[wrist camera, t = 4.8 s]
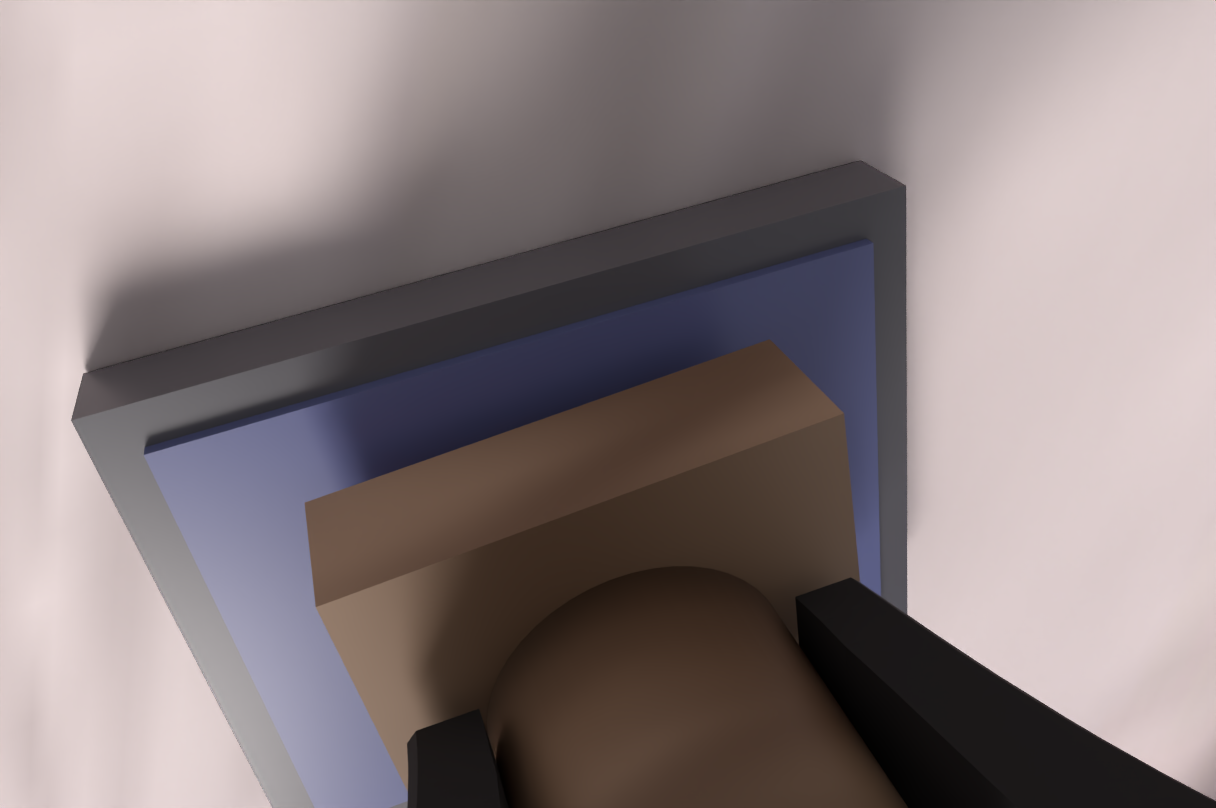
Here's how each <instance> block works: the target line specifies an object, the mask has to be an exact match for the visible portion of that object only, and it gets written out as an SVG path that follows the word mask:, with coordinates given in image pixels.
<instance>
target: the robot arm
mask: <svg viewBox="0 0 1216 808" xmlns="http://www.w3.org/2000/svg"><path fill="white" fill-rule="evenodd" d="M795 601H796V613H797V626H798V638H799V646H800V647H801V649H802V650H803V652H804V653H805V655H806V656H807V658H808V659H809V661H810V662H811V664H812V665H813V667H814V668H815V670H816V671H817V673H818V674H819V676H820V677H821V679H822V680H823V682H824V683H825V684H826V686H827V687H828V689H829V690H830V692H831V693H832V695H833V696H834V698H835V699H836V701H837V702H838V704H839V705H840V707H841V708H842V710H843V711H844V713H845V714H846V716H847V717H848V719H849V720H850V722H851V723H852V725H853V726H854V728H855V729H856V731H857V732H858V733H859V735H860V736H861V738H862V739H863V741H864V742H865V744H866V745H867V747H868V748H869V750H870V751H871V753H872V754H873V756H874V757H875V759H876V760H877V762H878V763H879V765H880V766H881V768H882V769H883V771H884V772H885V774H886V775H887V777H888V778H889V780H890V781H891V783H892V784H893V785H894V787H895V788H896V790H897V791H898V793H899V794H900V796H901V797H902V799H903V800H904V802H905V803H906V805H907V806H908V808H1216V801H1215V800H1213V799H1211V798H1209V797H1207V796H1205V795H1203V794H1201V793H1199V792H1197V791H1196V790H1194V789H1192V788H1190V787H1188V786H1186V785H1184V784H1182V783H1181V782H1179V781H1177V780H1175V779H1173V778H1171V777H1169V776H1167V775H1166V774H1164V773H1162V772H1160V771H1158V770H1156V769H1155V768H1153V767H1151V766H1149V765H1148V764H1146V763H1144V762H1142V761H1140V760H1139V759H1137V758H1135V757H1133V756H1131V755H1130V754H1128V753H1126V752H1124V751H1123V750H1121V749H1119V748H1117V747H1115V746H1114V745H1112V744H1110V743H1108V742H1107V741H1105V740H1103V739H1101V738H1100V737H1098V736H1096V735H1095V734H1093V733H1091V732H1090V731H1088V730H1086V729H1084V728H1083V727H1081V726H1079V725H1078V724H1076V723H1074V722H1073V721H1071V720H1069V719H1067V718H1066V717H1064V716H1063V715H1061V714H1059V713H1058V712H1056V711H1055V710H1053V709H1051V708H1050V707H1048V706H1047V705H1045V704H1043V703H1042V702H1040V701H1038V700H1037V699H1035V698H1034V697H1032V696H1030V695H1029V694H1027V693H1026V692H1024V691H1022V690H1021V689H1019V688H1018V687H1016V686H1014V685H1013V684H1011V683H1009V682H1008V681H1006V680H1005V679H1003V678H1001V677H1000V676H998V675H997V674H995V673H994V672H992V671H991V670H989V669H988V668H986V667H984V666H983V665H981V664H980V663H978V662H977V661H975V660H974V659H972V658H971V657H969V656H968V655H966V654H965V653H963V652H962V651H960V650H959V649H957V648H956V647H954V646H953V645H951V644H950V643H948V642H947V641H945V640H944V639H942V638H941V637H939V636H938V635H936V634H935V633H933V632H932V631H930V630H929V629H927V628H926V627H924V626H923V625H922V624H920V623H919V622H917V621H916V620H914V619H913V618H911V617H910V616H908V615H907V614H905V613H904V612H903V611H901V610H900V609H898V608H897V607H895V606H894V605H892V604H891V603H890V602H888V601H887V600H885V599H884V598H882V597H881V596H879V595H878V594H877V593H875V592H874V591H872V590H871V589H869V588H868V587H866V586H865V585H863V584H862V583H860V582H859V581H857V580H855V579H853V578H851V577H850V578H847V579H844V580H842V581H839V582H836V583H833V584H830V585H828V586H825V587H822V588H819V589H816V590H813V591H811V592H808V593H805V594H802V595H799V596H796V597H795ZM407 754H408V803H407V808H509V805H508V801H507V798H506V794H505V791H504V787H503V783H502V780H501V776H500V773H499V769H498V766H497V762H496V759H495V756H494V753H493V750H492V747H491V744H490V741H489V737H488V734H487V731H486V728H485V725H484V722H483V719H482V716H481V713H480V710H479V709H476V710H473V711H471V712H468V713H465V714H462V715H459V716H456V717H454V718H451V719H448V720H445V721H442V722H439V723H437V724H434V725H431V726H428V727H425V728H422V729H420V730H417V731H415V733H414V734H413V736H412V737H411V738H410V740H409V741H408V743H407Z"/></svg>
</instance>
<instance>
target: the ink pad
mask: <svg viewBox="0 0 1216 808" xmlns="http://www.w3.org/2000/svg"><path fill="white" fill-rule="evenodd" d="M769 339H770V340H771V341H772V342H773V343H774V344H775V345H776V346H777V347H778V348H779V349H780V350H781V351H782V352H783V353H784V354H785V355H786V356H787V357H788V358H789V359H790V360H791V361H792V362H793V363H794V364H795V365H796V366H797V367H798V368H799V369H800V370H801V371H802V372H803V373H804V374H805V375H806V376H807V377H808V378H809V379H810V380H811V381H812V382H813V383H814V384H815V385H816V386H817V387H818V388H819V389H820V390H821V391H822V392H823V393H824V394H825V395H826V396H827V397H828V398H829V399H830V400H831V401H832V402H833V403H834V404H835V405H836V406H837V407H838V408H839V409H840V410H841V411H842V412H843V413H844V418H845V428H846V439H847V449H848V460H849V470H850V481H851V491H852V502H853V512H854V522H855V533H856V543H857V554H858V564H859V575H860V583H862V584H863V585H865V586H866V587H868V588H869V589H871V590H872V591H874V592H875V593H877V594H878V595H879V596H881V597H882V598H884V599H885V600H887V601H888V602H890V603H891V604H892V605H894V606H895V607H897V608H898V609H900V610H901V611H903V612H904V613H905V614H907V383H906V185H904V184H902V183H900V182H899V181H897V180H895V179H893V178H891V177H890V176H888V175H886V174H884V173H882V172H881V171H879V170H877V169H875V168H874V167H872V166H870V165H868V164H866V163H865V162H863V161H857V162H853V163H850V164H846V165H842V166H839V167H835V168H832V169H828V170H824V171H821V172H817V173H813V174H810V175H806V176H802V177H799V178H795V179H791V180H788V181H784V182H781V183H777V184H773V185H770V186H766V187H762V188H759V189H755V190H751V191H748V192H744V193H740V194H737V195H733V196H729V197H726V198H722V199H719V200H715V201H711V202H708V203H704V204H700V205H697V206H693V207H689V208H686V209H682V210H678V211H675V212H671V213H667V214H664V215H660V216H657V217H653V218H649V219H646V220H642V221H638V222H635V223H631V224H627V225H624V226H620V227H616V228H613V229H609V230H605V231H602V232H598V233H595V234H591V235H587V236H584V237H580V238H576V239H573V240H569V241H565V242H562V243H558V244H554V245H551V246H547V247H544V248H540V249H536V250H533V251H529V252H525V253H522V254H518V255H514V256H511V257H507V258H503V259H500V260H496V261H492V262H489V263H485V264H482V265H478V266H474V267H471V268H467V269H463V270H460V271H456V272H452V273H449V274H445V275H441V276H438V277H434V278H430V279H427V280H423V281H420V282H416V283H412V284H409V285H405V286H401V287H398V288H394V289H390V290H387V291H383V292H379V293H376V294H372V295H369V296H365V297H361V298H358V299H354V300H350V301H347V302H343V303H339V304H336V305H332V306H328V307H325V308H321V309H317V310H314V311H310V312H307V313H303V314H299V315H296V316H292V317H288V318H285V319H281V320H277V321H274V322H270V323H266V324H263V325H259V326H255V327H252V328H248V329H245V330H241V331H237V332H234V333H230V334H226V335H223V336H219V337H215V338H212V339H208V340H204V341H201V342H197V343H194V344H190V345H186V346H183V347H179V348H175V349H172V350H168V351H164V352H161V353H157V354H153V355H150V356H146V357H142V358H139V359H135V360H132V361H128V362H124V363H121V364H117V365H113V366H110V367H106V368H102V369H99V370H95V371H91V372H88V373H84V374H83V377H82V381H81V385H80V388H79V392H78V396H77V400H76V404H75V408H74V412H73V416H72V419H71V421H72V423H73V425H74V427H75V429H76V431H77V433H78V435H79V436H80V438H81V440H82V442H83V444H84V446H85V448H86V450H87V452H88V454H89V456H90V458H91V460H92V462H93V463H94V465H95V467H96V469H97V471H98V473H99V475H100V477H101V479H102V481H103V483H104V485H105V487H106V488H107V490H108V492H109V494H110V496H111V498H112V500H113V502H114V504H115V506H116V508H117V510H118V512H119V514H120V515H121V517H122V519H123V521H124V523H125V525H126V527H127V529H128V531H129V533H130V535H131V537H132V539H133V540H134V542H135V544H136V546H137V548H138V550H139V552H140V554H141V556H142V558H143V560H144V562H145V564H146V566H147V567H148V569H149V571H150V573H151V575H152V577H153V579H154V581H155V583H156V585H157V587H158V589H159V591H160V592H161V594H162V596H163V598H164V600H165V602H166V604H167V606H168V608H169V610H170V612H171V614H172V616H173V618H174V619H175V621H176V623H177V625H178V627H179V629H180V631H181V633H182V635H183V637H184V639H185V641H186V643H187V644H188V646H189V648H190V650H191V652H192V654H193V656H194V658H195V660H196V662H197V664H198V666H199V668H200V670H201V671H202V673H203V675H204V677H205V679H206V681H207V683H208V685H209V687H210V689H211V691H212V693H213V695H214V696H215V698H216V700H217V702H218V704H219V706H220V708H221V710H222V712H223V714H224V716H225V718H226V720H227V722H228V723H229V725H230V727H231V729H232V731H233V733H234V735H235V737H236V739H237V741H238V743H239V745H240V747H241V748H242V750H243V752H244V754H245V756H246V758H247V760H248V762H249V764H250V766H251V768H252V770H253V772H254V774H255V775H256V777H257V779H258V781H259V783H260V785H261V787H262V789H263V791H264V793H265V795H266V797H267V799H268V801H269V802H270V804H271V806H272V808H407V803H408V791H407V789H406V787H405V785H404V783H403V781H402V779H401V777H400V775H399V773H398V771H397V769H396V767H395V765H394V763H393V761H392V759H391V757H390V755H389V753H388V751H387V749H386V747H385V745H384V743H383V741H382V739H381V737H380V735H379V733H378V731H377V729H376V727H375V725H374V723H373V721H372V719H371V717H370V715H369V713H368V711H367V709H366V707H365V705H364V703H363V701H362V699H361V697H360V695H359V693H358V691H357V689H356V687H355V685H354V683H353V681H352V679H351V677H350V675H349V673H348V671H347V669H346V667H345V665H344V663H343V661H342V659H341V657H340V655H339V653H338V651H337V649H336V647H335V645H334V643H333V641H332V639H331V637H330V635H329V633H328V631H327V629H326V627H325V625H324V623H323V621H322V619H321V617H320V615H319V613H318V611H317V609H316V606H315V597H314V587H313V578H312V569H311V559H310V550H309V541H308V531H307V522H306V513H305V502H308V501H311V500H313V499H316V498H319V497H322V496H325V495H328V494H331V493H333V492H336V491H339V490H342V489H345V488H348V487H350V486H353V485H356V484H359V483H362V482H365V481H368V480H370V479H373V478H376V477H379V476H382V475H385V474H387V473H390V472H393V471H396V470H399V469H402V468H405V467H407V466H410V465H413V464H416V463H419V462H422V461H424V460H427V459H430V458H433V457H436V456H439V455H442V454H444V453H447V452H450V451H453V450H456V449H459V448H461V447H464V446H467V445H470V444H473V443H476V442H478V441H481V440H484V439H487V438H490V437H493V436H496V435H498V434H501V433H504V432H507V431H510V430H513V429H515V428H518V427H521V426H524V425H527V424H530V423H533V422H535V421H538V420H541V419H544V418H547V417H550V416H552V415H555V414H558V413H561V412H564V411H567V410H570V409H572V408H575V407H578V406H581V405H584V404H587V403H589V402H592V401H595V400H598V399H601V398H604V397H607V396H609V395H612V394H615V393H618V392H621V391H624V390H626V389H629V388H632V387H635V386H638V385H641V384H644V383H646V382H649V381H652V380H655V379H658V378H661V377H663V376H666V375H669V374H672V373H675V372H678V371H681V370H683V369H686V368H689V367H692V366H695V365H698V364H700V363H703V362H706V361H709V360H712V359H715V358H718V357H720V356H723V355H726V354H729V353H732V352H735V351H737V350H740V349H743V348H746V347H749V346H752V345H755V344H757V343H760V342H763V341H766V340H769Z"/></svg>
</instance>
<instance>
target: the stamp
mask: <svg viewBox="0 0 1216 808" xmlns="http://www.w3.org/2000/svg"><path fill="white" fill-rule="evenodd" d="M305 513H306V522H307V531H308V541H309V550H310V559H311V569H312V578H313V587H314V597H315V606H316V609H317V611H318V613H319V615H320V617H321V619H322V621H323V623H324V625H325V627H326V629H327V631H328V633H329V635H330V637H331V639H332V641H333V643H334V645H335V647H336V649H337V651H338V653H339V655H340V657H341V659H342V661H343V663H344V665H345V667H346V669H347V671H348V673H349V675H350V677H351V679H352V681H353V683H354V685H355V687H356V689H357V691H358V693H359V695H360V697H361V699H362V701H363V703H364V705H365V707H366V709H367V711H368V713H369V715H370V717H371V719H372V721H373V723H374V725H375V727H376V729H377V731H378V733H379V735H380V737H381V739H382V741H383V743H384V745H385V747H386V749H387V751H388V753H389V755H390V757H391V759H392V761H393V763H394V765H395V767H396V769H397V771H398V773H399V775H400V777H401V779H402V781H403V783H404V785H405V787H406V789H407V791H408V754H407V743H408V741H409V740H410V738H411V737H412V736H413V734H414V733H415V731H417V730H420V729H422V728H425V727H428V726H431V725H434V724H437V723H439V722H442V721H445V720H448V719H451V718H454V717H456V716H459V715H462V714H465V713H468V712H471V711H473V710H476V709H479V710H480V713H481V716H482V719H483V722H484V725H485V728H486V731H487V734H488V737H489V741H490V744H491V747H492V750H493V753H494V756H495V759H496V762H497V766H498V769H499V773H500V776H501V780H502V783H503V787H504V791H505V794H506V798H507V801H508V805H509V808H908V806H907V805H906V803H905V802H904V800H903V799H902V797H901V796H900V794H899V793H898V791H897V790H896V788H895V787H894V785H893V784H892V783H891V781H890V780H889V778H888V777H887V775H886V774H885V772H884V771H883V769H882V768H881V766H880V765H879V763H878V762H877V760H876V759H875V757H874V756H873V754H872V753H871V751H870V750H869V748H868V747H867V745H866V744H865V742H864V741H863V739H862V738H861V736H860V735H859V733H858V732H857V731H856V729H855V728H854V726H853V725H852V723H851V722H850V720H849V719H848V717H847V716H846V714H845V713H844V711H843V710H842V708H841V707H840V705H839V704H838V702H837V701H836V699H835V698H834V696H833V695H832V693H831V692H830V690H829V689H828V687H827V686H826V684H825V683H824V682H823V680H822V679H821V677H820V676H819V674H818V673H817V671H816V670H815V668H814V667H813V665H812V664H811V662H810V661H809V659H808V658H807V656H806V655H805V653H804V652H803V650H802V649H801V647H800V646H799V638H798V626H797V613H796V601H795V597H796V596H799V595H802V594H805V593H808V592H811V591H813V590H816V589H819V588H822V587H825V586H828V585H830V584H833V583H836V582H839V581H842V580H844V579H847V578H850V577H851V578H853V579H855V580H857V581H859V582H860V575H859V564H858V554H857V543H856V533H855V522H854V512H853V502H852V491H851V481H850V470H849V460H848V449H847V439H846V428H845V418H844V413H843V412H842V411H841V410H840V409H839V408H838V407H837V406H836V405H835V404H834V403H833V402H832V401H831V400H830V399H829V398H828V397H827V396H826V395H825V394H824V393H823V392H822V391H821V390H820V389H819V388H818V387H817V386H816V385H815V384H814V383H813V382H812V381H811V380H810V379H809V378H808V377H807V376H806V375H805V374H804V373H803V372H802V371H801V370H800V369H799V368H798V367H797V366H796V365H795V364H794V363H793V362H792V361H791V360H790V359H789V358H788V357H787V356H786V355H785V354H784V353H783V352H782V351H781V350H780V349H779V348H778V347H777V346H776V345H775V344H774V343H773V342H772V341H771V340H770V339H769V340H766V341H763V342H760V343H757V344H755V345H752V346H749V347H746V348H743V349H740V350H737V351H735V352H732V353H729V354H726V355H723V356H720V357H718V358H715V359H712V360H709V361H706V362H703V363H700V364H698V365H695V366H692V367H689V368H686V369H683V370H681V371H678V372H675V373H672V374H669V375H666V376H663V377H661V378H658V379H655V380H652V381H649V382H646V383H644V384H641V385H638V386H635V387H632V388H629V389H626V390H624V391H621V392H618V393H615V394H612V395H609V396H607V397H604V398H601V399H598V400H595V401H592V402H589V403H587V404H584V405H581V406H578V407H575V408H572V409H570V410H567V411H564V412H561V413H558V414H555V415H552V416H550V417H547V418H544V419H541V420H538V421H535V422H533V423H530V424H527V425H524V426H521V427H518V428H515V429H513V430H510V431H507V432H504V433H501V434H498V435H496V436H493V437H490V438H487V439H484V440H481V441H478V442H476V443H473V444H470V445H467V446H464V447H461V448H459V449H456V450H453V451H450V452H447V453H444V454H442V455H439V456H436V457H433V458H430V459H427V460H424V461H422V462H419V463H416V464H413V465H410V466H407V467H405V468H402V469H399V470H396V471H393V472H390V473H387V474H385V475H382V476H379V477H376V478H373V479H370V480H368V481H365V482H362V483H359V484H356V485H353V486H350V487H348V488H345V489H342V490H339V491H336V492H333V493H331V494H328V495H325V496H322V497H319V498H316V499H313V500H311V501H308V502H305Z"/></svg>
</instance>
